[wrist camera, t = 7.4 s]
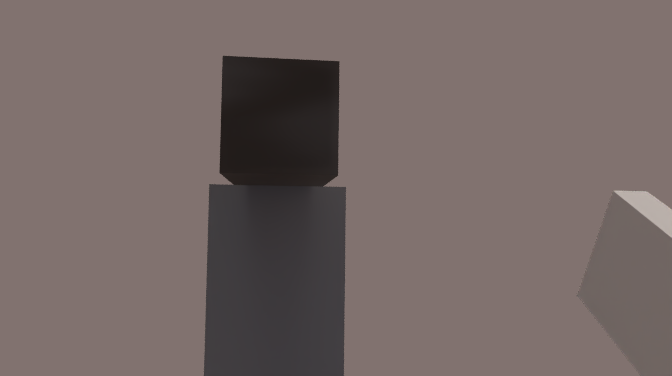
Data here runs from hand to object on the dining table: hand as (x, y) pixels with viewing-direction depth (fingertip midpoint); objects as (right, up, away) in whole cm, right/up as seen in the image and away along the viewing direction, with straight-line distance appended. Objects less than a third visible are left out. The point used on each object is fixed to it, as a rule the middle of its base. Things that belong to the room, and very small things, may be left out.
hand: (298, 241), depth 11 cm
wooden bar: (-2, +1, +17) cm, 17 cm away
